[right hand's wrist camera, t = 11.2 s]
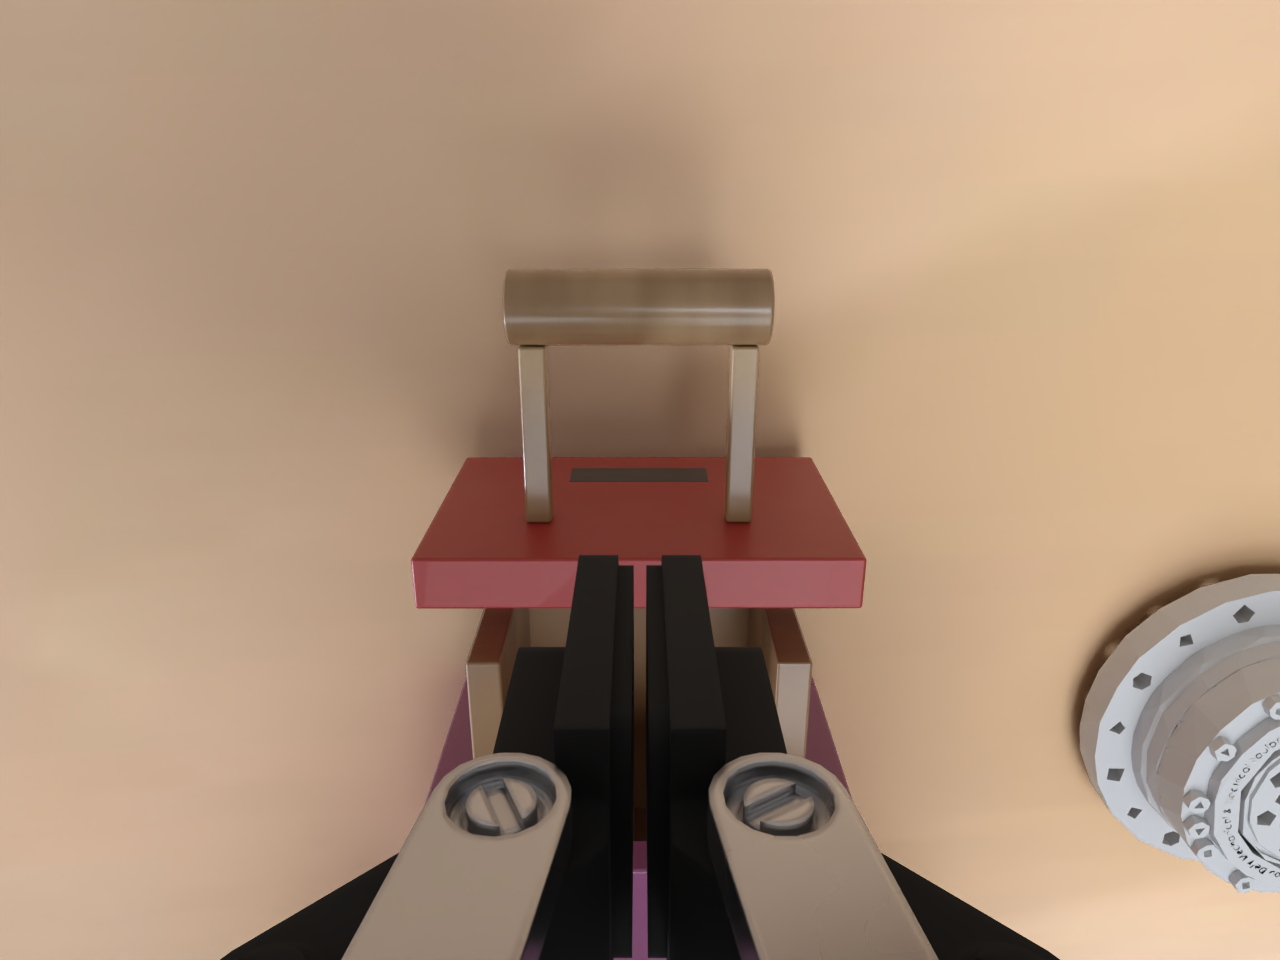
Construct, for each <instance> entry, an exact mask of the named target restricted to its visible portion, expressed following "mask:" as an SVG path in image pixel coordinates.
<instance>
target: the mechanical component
mask: <svg viewBox="0 0 1280 960" xmlns="http://www.w3.org/2000/svg"><path fill="white" fill-rule="evenodd" d="M1080 751H1081V754H1082V758H1083V761H1084V764H1085V767H1086V770H1087V773H1088V776H1089V779H1090V782H1091V784H1092V786H1093V787H1094V789H1095V790H1096V792H1097V793H1098V794H1099V796H1100V797H1101V799H1102V800H1103V802H1104V803H1105V805H1106V806H1107V808H1108V809H1109V811H1110V812H1111V814H1113V815H1114V816H1115V817H1116V818H1117V819H1118V820H1119V821H1120V822H1121V823H1122V824H1123V825H1124V826H1125V827H1126V828H1127V829H1128V830H1129V831H1130V832H1131V833H1132V834H1133V835H1134V836H1135V837H1136V838H1137V839H1138V840H1140V841H1142V842H1144V843H1146V844H1149V845H1151V846H1153V847H1156V848H1158V849H1160V850H1162V851H1165V852H1167V853H1169V854H1171V855H1174V856H1176V857H1178V858H1181V859H1189V860H1198V861H1200V862H1201V863H1202V864H1203V865H1204V866H1205V868H1206V869H1207V870H1208V871H1210V872H1211V873H1213V874H1215V875H1216V876H1218V877H1219V878H1221V879H1223V880H1224V881H1226V882H1228V883H1231V884H1232V885H1233V886H1234V888H1235V889H1236V890H1237V891H1238V892H1242V893H1247V892H1249V891H1251V890H1254V891H1257V892H1280V574H1249V575H1245V576H1242V577H1238V578H1234V579H1230V580H1227V581H1223V582H1219V583H1215V584H1211V585H1208V586H1204V587H1200V588H1198V589H1196V590H1194V591H1192V592H1191V593H1189V594H1187V595H1185V596H1183V597H1181V598H1179V599H1177V600H1175V601H1173V602H1172V603H1170V604H1168V605H1166V606H1164V607H1162V608H1160V609H1158V610H1157V611H1156V612H1155V613H1154V614H1152V615H1151V616H1150V617H1149V618H1147V619H1146V620H1145V621H1144V622H1142V623H1141V624H1140V625H1139V626H1137V627H1136V628H1135V629H1134V630H1132V631H1131V632H1130V633H1129V634H1127V635H1126V636H1125V637H1124V639H1123V640H1122V641H1121V642H1120V644H1119V645H1118V646H1117V648H1116V649H1115V650H1114V651H1113V653H1112V654H1111V655H1110V657H1109V658H1108V659H1107V661H1106V662H1105V663H1104V664H1103V666H1102V667H1101V668H1100V670H1099V671H1098V673H1097V676H1096V678H1095V680H1094V682H1093V684H1092V686H1091V689H1090V691H1089V693H1088V695H1087V697H1086V699H1085V704H1084V708H1083V713H1082V718H1081V722H1080Z"/></svg>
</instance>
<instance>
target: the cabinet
mask: <svg viewBox="0 0 1280 960" xmlns="http://www.w3.org/2000/svg"><path fill="white" fill-rule="evenodd" d="M805 759H807V760H810V761H812V762H814V763H817V764H819V765H821V766H822V767H824V768H825V769H827V770H828V771H829V772H831V773H832V774H834V775H835V776H836V777H837V778H838V780H839V781H840V782H841V783H842V785H843V786H844V787H845V788H846V790H847V792H848V793H849V795H850V792H849V788H848V785H847V782H846V779H845V776H844V773H843V770H842V767H841V764H840V761H839V757H838V754H837V751H836V748H835V745H834V742H833V739H832V736H831V733H830V730H829V726H828V723H827V720H826V717H825V714H824V711H823V708H822V705H821V702H820V699H819V695H818V692H817V689H816V686H815V684H814V681H813V678H812V675H811V688H810V701H809V715H808V728H807V741H806V754H805ZM470 760H473V752H472V739H471V727H470V714H469V701H468V688H467V677H466V680H465V683H464V687H463V689H462V692H461V695H460V698H459V701H458V704H457V707H456V710H455V714H454V717H453V720H452V723H451V726H450V729H449V732H448V735H447V738H446V741H445V744H444V747H443V751H442V754H441V757H440V760H439V763H438V766H437V769H436V772H435V775H434V778H433V781H432V784H431V787H430V791H429V794H428V797H427V800H426V803H427V801H428V799H429V797H430V795H431V793H432V792H433V790H434V788H435V787H436V786H437V785H438V783H439V782H440V781H441V780H442V778H443V777H444V776H445V775H446V774H448V773H449V772H451V771H452V770H453V769H455V768H456V767H458V766H459V765H461V764H463V763H466V762H468V761H470ZM850 797H851V795H850ZM851 799H852V798H851ZM426 803H425V804H426ZM614 960H666V958H648V927H647V841H633V927H632V958H614Z"/></svg>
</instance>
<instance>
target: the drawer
mask: <svg viewBox="0 0 1280 960" xmlns="http://www.w3.org/2000/svg"><path fill="white" fill-rule="evenodd" d="M503 320H504V329H505V335H506V339H507V341H508V343H509V344H510V345H520V346H519V348H518V365H519V386H520V407H521V427H522V448H523V458H467V459H466V461H465V463H464V464H463V466H462V468H461V470H460V472H459V474H458V475H457V477H456V479H455V481H454V483H453V484H452V486H451V488H450V490H449V492H448V494H447V495H446V497H445V499H444V501H443V503H442V505H441V506H440V508H439V510H438V512H437V514H436V516H435V517H434V519H433V521H432V523H431V525H430V526H429V528H428V530H427V532H426V534H425V536H424V537H423V539H422V541H421V543H420V545H419V547H418V548H417V550H416V552H415V554H414V556H413V557H412V560H411V564H412V574H413V585H414V595H415V605H416V607H417V608H484V611H483V614H482V617H481V620H480V623H479V626H478V629H477V632H476V635H475V638H474V641H473V644H472V647H471V650H470V653H469V656H468V659H467V662H466V675H467V688H468V701H469V714H470V727H471V739H472V752H473V759H475V758H478V757H481V756H486V755H491V754H493V750H494V746H495V742H496V738H497V734H498V730H499V725H500V721H501V717H502V713H503V709H504V705H505V700H506V696H507V692H508V688H509V684H510V680H511V676H512V671H513V667H514V663H515V659H516V655H517V652H518V649H519V648H520V647H566V640H567V633H568V627H569V620H570V613H571V606H572V599H573V593H574V586H575V579H576V572H577V565H578V559H579V555H618V558H619V565H634V822H633V841H647V822H646V565H661V558H662V555H701V559H702V565H703V572H704V579H705V586H706V593H707V599H708V606H709V613H710V620H711V627H712V633H713V640H714V647H760V648H761V649H762V652H763V655H764V659H765V663H766V667H767V671H768V676H769V680H770V684H771V688H772V692H773V696H774V700H775V705H776V709H777V713H778V717H779V721H780V725H781V730H782V734H783V738H784V742H785V746H786V750H787V754H789V755H794V756H799V757H802V758H805V754H806V741H807V728H808V715H809V701H810V688H811V675H812V661H811V658H810V655H809V652H808V649H807V646H806V643H805V640H804V637H803V634H802V631H801V628H800V625H799V622H798V619H797V616H796V613H795V610H794V608H861V606H862V601H863V590H864V580H865V569H866V558H865V556H864V554H863V553H862V551H861V549H860V547H859V545H858V543H857V542H856V540H855V538H854V536H853V534H852V532H851V530H850V529H849V527H848V525H847V523H846V521H845V519H844V518H843V516H842V514H841V512H840V510H839V508H838V506H837V505H836V503H835V501H834V499H833V497H832V495H831V494H830V492H829V490H828V488H827V486H826V484H825V483H824V481H823V479H822V477H821V475H820V473H819V471H818V470H817V468H816V466H815V464H814V462H813V460H812V459H811V458H755V438H756V416H757V394H758V372H759V347H758V346H757V345H767V344H769V342H770V339H771V336H772V330H773V322H774V282H773V276H772V273H771V271H770V270H768V269H509V270H507V271H506V274H505V277H504V283H503ZM548 345H730V351H729V380H728V410H727V439H726V458H552V451H551V424H550V396H549V369H548Z"/></svg>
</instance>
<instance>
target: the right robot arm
mask: <svg viewBox="0 0 1280 960" xmlns="http://www.w3.org/2000/svg"><path fill="white" fill-rule="evenodd" d="M633 822H634V565H619V558H618V555H579V559H578V565H577V572H576V579H575V586H574V593H573V599H572V606H571V613H570V620H569V627H568V633H567V640H566V647H520V648H519V649H518V652H517V655H516V659H515V663H514V667H513V671H512V676H511V680H510V684H509V688H508V692H507V696H506V700H505V705H504V709H503V713H502V717H501V721H500V725H499V730H498V734H497V738H496V742H495V746H494V750H493V754H491V755H486V756H481V757H478V758H475V759H473V760H470V761H468V762H466V763H463V764H461V765H459V766H458V767H456V768H455V769H453V770H452V771H451V772H449V773H448V774H446V775H445V776H444V777H443V778H442V780H441V781H440V782H439V783H438V785H437V786H436V787H435V788H434V790H433V792H432V793H431V795H430V797H429V799H428V801H427V803H426V804H425V806H424V808H423V810H422V812H421V814H420V816H419V817H418V819H417V821H416V823H415V825H414V827H413V828H412V830H411V832H410V834H409V836H408V838H407V839H406V841H405V843H404V845H403V847H402V849H401V851H400V852H399V853H398V854H396V855H394V856H393V857H391V858H389V859H388V860H386V861H384V862H383V863H381V864H379V865H377V866H376V867H374V868H372V869H371V870H369V871H367V872H366V873H364V874H362V875H360V876H359V877H357V878H355V879H354V880H352V881H350V882H349V883H347V884H345V885H343V886H342V887H340V888H338V889H337V890H335V891H333V892H332V893H330V894H328V895H326V896H325V897H323V898H321V899H320V900H318V901H316V902H315V903H313V904H311V905H309V906H308V907H306V908H304V909H303V910H301V911H299V912H298V913H296V914H294V915H292V916H291V917H289V918H287V919H286V920H284V921H282V922H281V923H279V924H277V925H275V926H274V927H272V928H270V929H269V930H267V931H265V932H264V933H262V934H260V935H258V936H257V937H255V938H253V939H252V940H250V941H248V942H247V943H245V944H243V945H241V946H240V947H238V948H236V949H235V950H233V951H231V952H230V953H229V954H227V955H226V956H225V957H223V958H222V959H220V960H614V958H632V927H633ZM646 822H647V927H648V958H666V960H1060V959H1058V958H1057V957H1055V956H1054V955H1053V954H1051V953H1050V952H1049V951H1047V950H1045V949H1044V948H1042V947H1040V946H1039V945H1037V944H1035V943H1033V942H1032V941H1030V940H1028V939H1027V938H1025V937H1023V936H1022V935H1020V934H1018V933H1016V932H1015V931H1013V930H1011V929H1010V928H1008V927H1006V926H1005V925H1003V924H1001V923H999V922H998V921H996V920H994V919H993V918H991V917H989V916H988V915H986V914H984V913H982V912H981V911H979V910H977V909H976V908H974V907H972V906H971V905H969V904H967V903H965V902H964V901H962V900H960V899H959V898H957V897H955V896H954V895H952V894H950V893H948V892H947V891H945V890H943V889H942V888H940V887H938V886H937V885H935V884H933V883H931V882H930V881H928V880H926V879H925V878H923V877H921V876H920V875H918V874H916V873H914V872H913V871H911V870H909V869H908V868H906V867H904V866H903V865H901V864H899V863H897V862H896V861H894V860H892V859H891V858H889V857H887V856H886V855H884V854H882V853H881V852H880V851H879V849H878V847H877V845H876V843H875V841H874V839H873V838H872V836H871V834H870V832H869V830H868V828H867V827H866V825H865V823H864V821H863V819H862V817H861V816H860V814H859V812H858V810H857V808H856V806H855V804H854V803H853V801H852V799H851V797H850V795H849V793H848V792H847V790H846V788H845V787H844V786H843V785H842V783H841V782H840V781H839V780H838V778H837V777H836V776H835V775H834V774H832V773H831V772H829V771H828V770H827V769H825V768H824V767H822V766H821V765H819V764H817V763H814V762H812V761H810V760H807V759H805V758H802V757H799V756H794V755H789V754H787V750H786V746H785V742H784V738H783V734H782V730H781V725H780V721H779V717H778V713H777V709H776V705H775V700H774V696H773V692H772V688H771V684H770V680H769V676H768V671H767V667H766V663H765V659H764V655H763V652H762V649H761V648H760V647H714V640H713V633H712V627H711V620H710V613H709V606H708V599H707V593H706V586H705V579H704V572H703V565H702V559H701V555H662V558H661V565H646Z"/></svg>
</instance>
